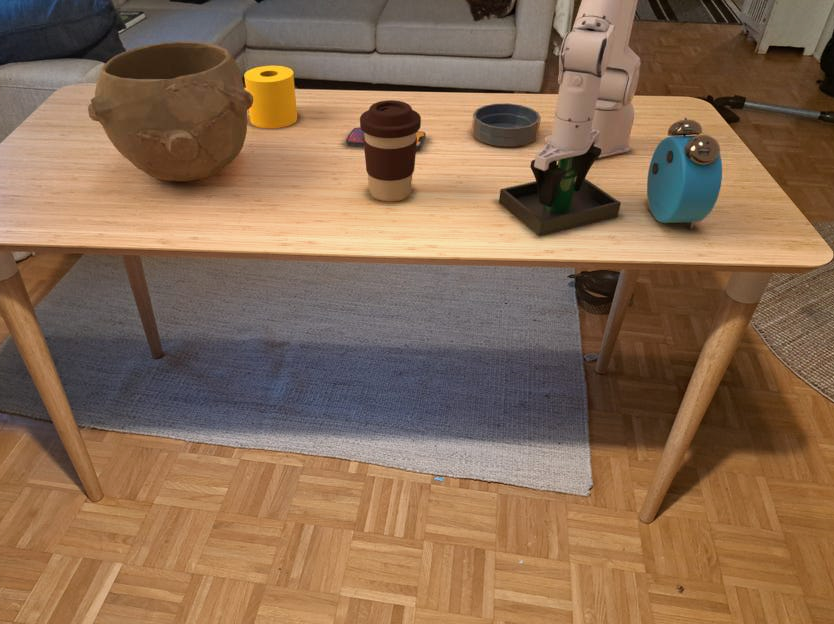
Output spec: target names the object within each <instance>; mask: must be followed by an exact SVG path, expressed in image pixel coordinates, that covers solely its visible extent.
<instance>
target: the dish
mask: <svg viewBox="0 0 834 624" xmlns="http://www.w3.org/2000/svg"><path fill="white" fill-rule="evenodd" d="M541 119H542V117H541V115H540V113H539V112H538V111H537V110H535V109H533V108H531V107H528V106H525V105H522V104H516V103H510V102H509V103H506V102H505V103H492V104H486V105H483V106H481V107H478V108H476V109H475V111H473V113H472V121H471V134H472V136H473V137H474V138H475V139H476V140H478V141H479V142H482V143H484V144H487V145H491V146H495V147H504V148H509V147H510V148H511V147H512V148H513V147H520V146H523V145H524V146H525V145H528V144H530V143H533V142H534V141H536V140H537V138H538V136H539V132H540V125H541Z"/></svg>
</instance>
